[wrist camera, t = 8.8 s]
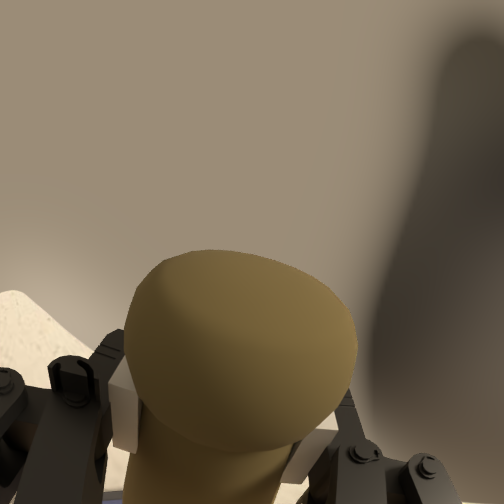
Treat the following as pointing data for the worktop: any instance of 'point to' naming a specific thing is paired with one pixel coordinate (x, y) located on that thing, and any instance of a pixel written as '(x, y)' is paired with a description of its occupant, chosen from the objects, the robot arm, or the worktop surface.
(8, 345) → the worktop surface
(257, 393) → the cork
